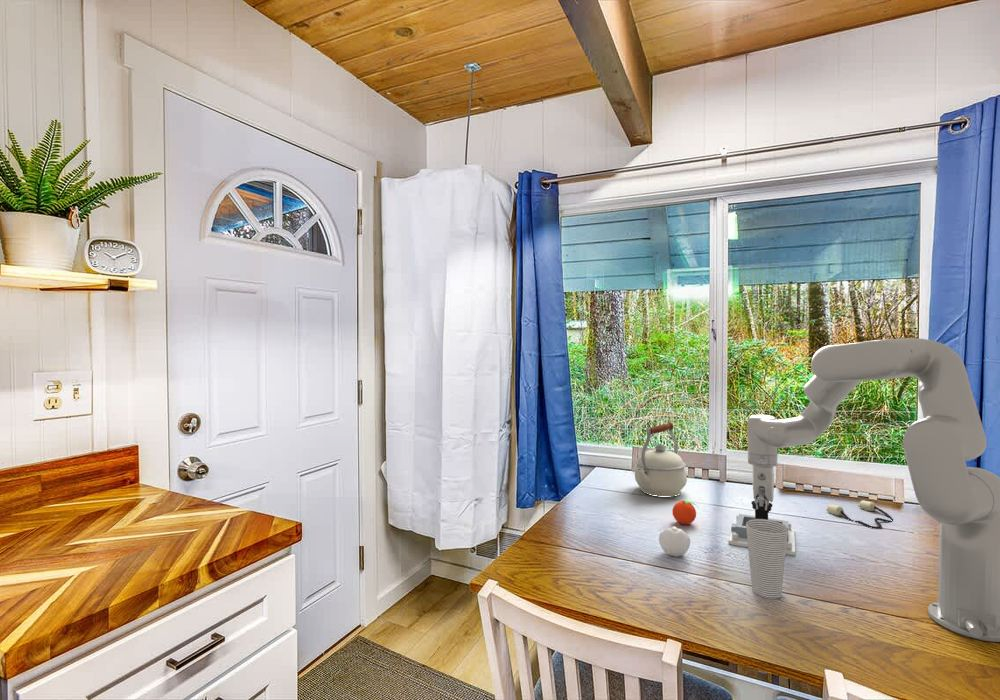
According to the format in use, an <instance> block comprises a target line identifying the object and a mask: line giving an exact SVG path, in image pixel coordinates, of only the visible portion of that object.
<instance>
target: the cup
mask: <svg viewBox="0 0 1000 700" xmlns="http://www.w3.org/2000/svg"><path fill="white" fill-rule="evenodd" d="M746 528H747V540H748V547H747V548H748V550H747V551H748V560H749V571H750V582H751V591H753V593H754V594H755V595H756V596H759V597H762V598H763V599H769V600H776V599H779V598H781V597H782V595H783V593H782V592H783V584H784V583H783V582H784V574H785V573H784V572H785V562H786V555H787V554H786V545H787V535H788V528H787V527H786V526H785V525H784V524H781V523H779V522H776V521H772V520H767V519H751V520H749V521H747V522H746Z"/></svg>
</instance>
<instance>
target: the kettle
mask: <svg viewBox="0 0 1000 700" xmlns="http://www.w3.org/2000/svg"><path fill="white" fill-rule="evenodd" d="M673 429H674V424H673V423H672V422H667V423H663V424H658V425H655V426H653V427H647V428H646V440H645V442H644V445H643V447H642V450H641V454H640V455H639V457H638V458H637V459H636V460H635V464H636V467H635V471H634V480H635V482H636V483H637V485H638V486H639V487H640V491H641V490H642V491H643V492H645V493H648V494H651V495H657V496H675V495H678V494H680V495H681V492H682V490H683V489H684V487H686V485H687V482H688V477H687V472H686V469H685V467H686V466H687V465H686V462H684V461H683V459H682V457H681V456H680V455H679V454H678V452H679V443H678V441H677V438H676V437H675V436H674V432H673ZM666 431H669V435H670V438H671V439H672V441H673V444H674V446H673V447H674V449H673V451H670V450H667V447H665V445H663V444H662V443H659V444H657V445H655V446H654V449H649V450H647V449H648V446H649V444H650V442H651V437H652V436H651V435H653V434H659V433H663V432H666ZM642 491H641V492H642ZM643 492H642V493H643ZM678 496H679V495H678Z"/></svg>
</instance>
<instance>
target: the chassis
mask: <svg viewBox="0 0 1000 700" xmlns="http://www.w3.org/2000/svg"><path fill="white" fill-rule="evenodd" d="M733 519H734V520H733V522H732V523H731V527H730V529H731V530H730V535H729V539H728V544H729V545H733V546H739V547H745V548H748V540H747V528H746V522H747V521H749V520H751V519H755V515H751V514H750V515H749V514H743V513H738V514H737V515H736V517H735V518H733ZM768 520H772V521H776V522H779V523H781V524H784V525H785V526H786V527H787V528H788V535H787V545H786V555H788V556H789V555H790V556H796V545H795V544H796V542H795V528H794V527H792V523H790V522H789V520H783V519H778V518H777V519H775V518H769V517H768Z"/></svg>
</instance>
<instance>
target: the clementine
mask: <svg viewBox="0 0 1000 700" xmlns="http://www.w3.org/2000/svg"><path fill="white" fill-rule="evenodd" d="M694 505H695V506H696V507H697V508H699V506H697V505H696V504H695V502H692V501H686V500H680V501H678V502H676V503H675V504H674V505H673V508H672V516H673V518H674V520H675V521H676V522H677V523H678V524H681V525H691V524H692V523H693V522H694V521H695V519H696V518H697V511H696V508H695V507H694Z"/></svg>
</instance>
